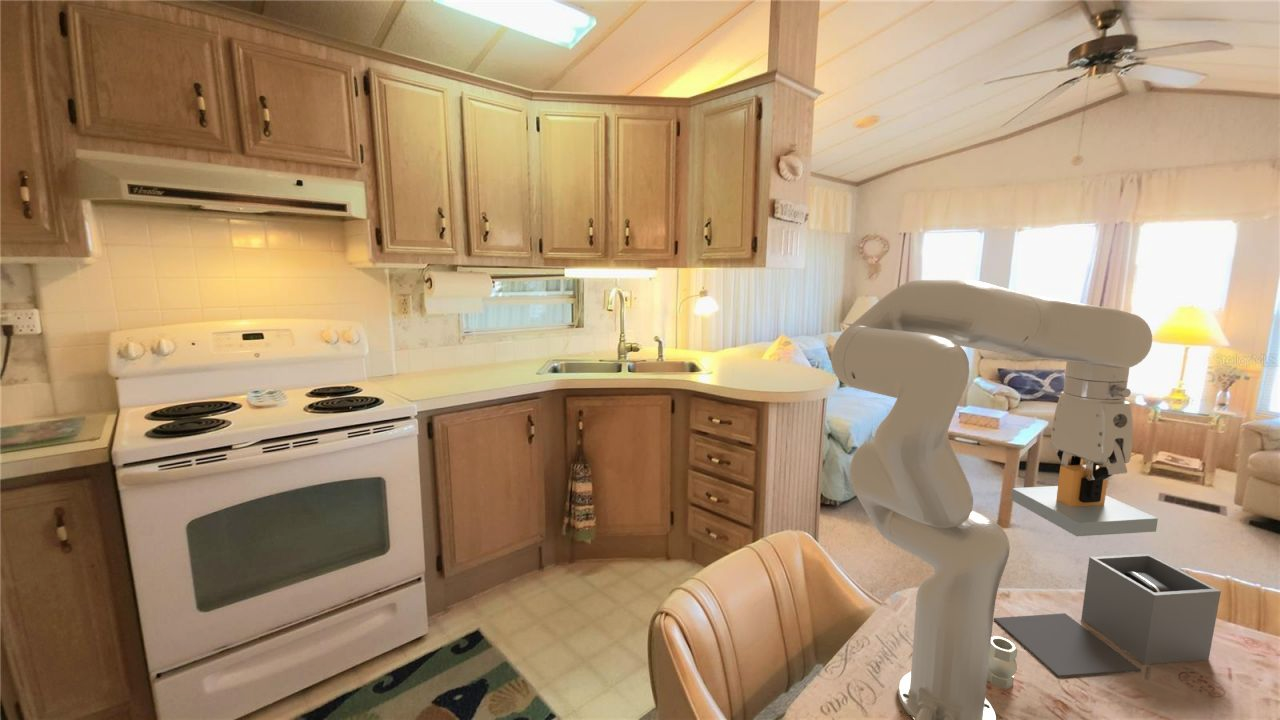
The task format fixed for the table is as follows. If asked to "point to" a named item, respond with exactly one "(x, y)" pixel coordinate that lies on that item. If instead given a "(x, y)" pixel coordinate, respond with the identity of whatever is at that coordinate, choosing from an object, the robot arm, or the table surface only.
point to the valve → (1002, 662)
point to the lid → (1082, 507)
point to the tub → (1150, 609)
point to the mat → (1065, 645)
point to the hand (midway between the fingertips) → (1080, 496)
